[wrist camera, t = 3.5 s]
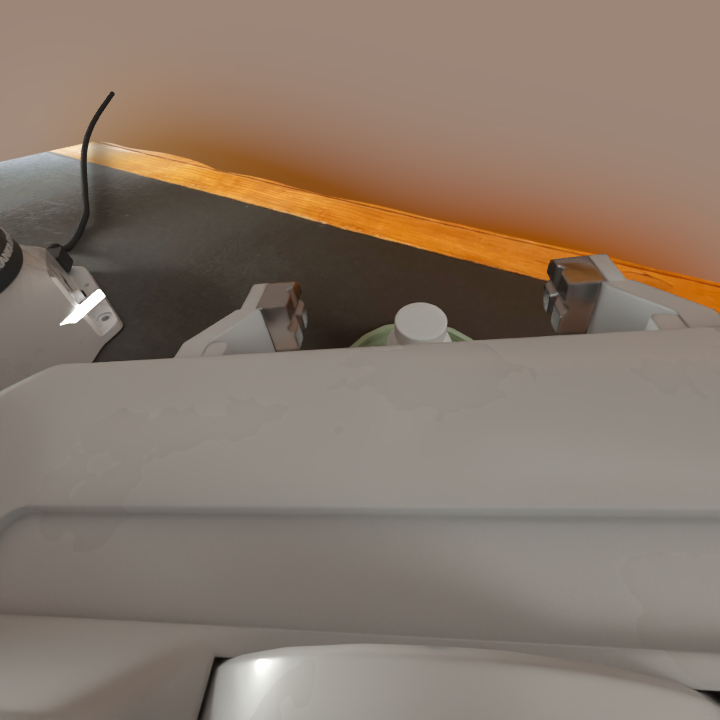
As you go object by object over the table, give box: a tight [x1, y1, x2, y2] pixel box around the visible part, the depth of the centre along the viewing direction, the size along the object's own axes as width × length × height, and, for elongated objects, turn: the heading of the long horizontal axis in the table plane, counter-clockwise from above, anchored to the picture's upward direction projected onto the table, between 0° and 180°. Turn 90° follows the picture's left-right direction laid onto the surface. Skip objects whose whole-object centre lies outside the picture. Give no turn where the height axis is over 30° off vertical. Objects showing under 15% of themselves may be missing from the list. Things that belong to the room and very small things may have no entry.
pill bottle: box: [386, 303, 452, 346], centre depth 33 cm, size 5×5×10 cm
